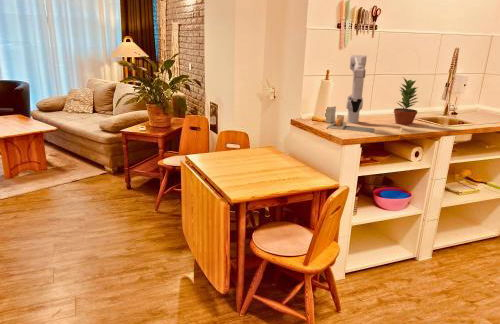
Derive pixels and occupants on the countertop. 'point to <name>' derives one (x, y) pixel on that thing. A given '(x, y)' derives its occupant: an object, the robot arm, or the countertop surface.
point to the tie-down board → (357, 128)
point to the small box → (330, 114)
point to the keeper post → (338, 122)
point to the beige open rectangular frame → (340, 123)
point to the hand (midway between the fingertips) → (355, 111)
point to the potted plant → (406, 105)
